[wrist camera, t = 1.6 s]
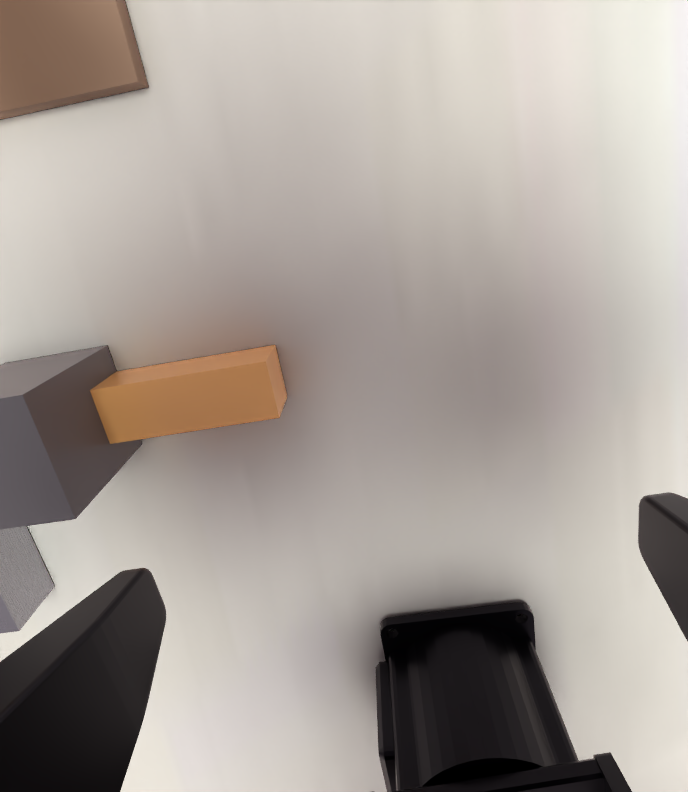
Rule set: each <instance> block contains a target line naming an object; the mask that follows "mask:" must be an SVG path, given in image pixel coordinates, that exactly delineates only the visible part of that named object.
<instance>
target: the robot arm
mask: <svg viewBox="0 0 688 792" xmlns="http://www.w3.org/2000/svg"><path fill="white" fill-rule="evenodd" d="M638 543H639V549H640V552H641V555H642V557H643V559H644V561H645V563H646V565H647V567H648V569H649V571H650V572H651V574H652V576H653V578H654V580H655V582H656V584H657V585H658V587H659V589H660V591H661V593H662V595H663V597H664V598H665V600H666V602H667V604H668V606H669V608H670V610H671V612H672V613H673V615H674V617H675V619H676V621H677V623H678V625H679V626H680V628H681V630H682V632H683V634H684V636H685V638H686V639H687V641H688V499H687V498H685V497H682V496H680V495H677V494H674V493H661V494H654V495H647V496H644V497H643V498H642V499H641V500H640V503H639V532H638ZM519 614H523V615H521V616H517V615H519ZM165 622H166V609H165V605H164V602H163V600H162V597H161V595H160V592H159V590H158V588H157V585H156V583H155V580H154V578H153V575H152V573H151V572H150V571H149V570H148V569H146V568H139V569H132V570H125V571H122V572H120V573H118V574H117V575H116V576H114V577H113V578H112V579H110V580H109V581H108V582H106V583H105V584H104V585H102V586H101V587H100V588H98V589H97V590H96V591H94V592H93V593H92V594H90V595H89V596H88V597H86V598H85V599H84V600H82V601H81V602H80V603H78V604H77V605H76V606H74V607H73V608H72V609H70V610H69V611H68V612H66V613H65V614H64V615H62V616H61V617H60V618H58V619H57V620H56V621H54V622H53V623H52V624H50V625H49V626H48V627H46V628H45V629H44V630H42V631H41V632H40V633H38V634H37V635H36V636H34V637H33V638H32V639H30V640H29V641H28V642H26V643H25V644H24V645H22V646H21V647H20V648H18V649H17V650H16V651H14V652H13V653H12V654H10V655H9V656H8V657H6V658H5V659H4V660H2V661H1V662H0V792H120V790H121V787H122V784H123V781H124V778H125V775H126V772H127V769H128V766H129V763H130V760H131V756H132V753H133V750H134V747H135V744H136V741H137V738H138V735H139V732H140V728H141V725H142V722H143V719H144V715H145V711H146V707H147V703H148V699H149V695H150V690H151V686H152V681H153V677H154V672H155V668H156V663H157V659H158V654H159V650H160V645H161V641H162V636H163V632H164V627H165ZM389 629H395V630H393V631H389ZM380 630H381V639H382V644H383V649H384V654H385V659H386V661H384V662H379V664H378V665H377V666H376V691H377V719H378V747H379V757H380V761H381V766H382V770H383V775H384V779H385V784H386V788H387V792H632V791H631V789H630V787H629V786H628V784H627V782H626V780H625V778H624V776H623V775H622V773H621V771H620V769H619V767H618V765H617V764H616V762H615V760H614V758H613V756H612V755H611V753H610V752H609V753H603V754H597V755H594V758H593V759H587V760H581V761H579V760H578V758H577V755H576V753H575V750H574V748H573V745H572V743H571V740H570V737H569V735H568V732H567V730H566V727H565V725H564V722H563V720H562V717H561V714H560V712H559V709H558V707H557V704H556V702H555V699H554V697H553V694H552V691H551V689H550V686H549V684H548V681H547V679H546V676H545V674H544V671H543V668H542V666H541V663H540V661H539V658H538V656H537V653H536V649H535V633H534V617H533V614H532V612H531V609H530V607H529V606H528V605H527V604H525V603H522V602H517V603H509V604H500V605H492V606H483V607H475V608H466V609H458V610H449V611H441V612H432V613H424V614H415V615H407V616H398V617H390V618H386V619H385V620H383V621H382V623H381V625H380ZM373 792H374V791H373Z"/></svg>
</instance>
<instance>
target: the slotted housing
mask: <svg viewBox="0 0 688 792" xmlns="http://www.w3.org/2000/svg"><path fill="white" fill-rule="evenodd" d="M53 587H54V584H53V582H52V580H51V577H50V575H49V573H48V571H47V569H46V567H45V565H44V563H43V560H42V558H41V556H40V554H39V552H38V550H37V548H36V545H35V543H34V541H33V539H32V537H31V535H30V533H29V531H28V528H27V526H22V527H15V528H8V529H1V530H0V633H6V632H14V631H20V629H21V628H22V627H23V626H24V624H25V623H26V622H27V620H28V619H29V618H30V617H31V615H32V614H33V613H34V612H35V610H36V609H37V608H38V606H39V605H40V604H41V603H42V601H43V600H44V599H45V598H46V596H47V595H48V594H49V593H50V591H51V590H52V589H53Z"/></svg>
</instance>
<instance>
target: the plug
mask: <svg viewBox="0 0 688 792" xmlns="http://www.w3.org/2000/svg"><path fill="white" fill-rule="evenodd" d="M286 399H287V393H286V388H285V384H284V380H283V375H282V371H281V367H280V363H279V358H278V354H277V350H276V345H271V346H265V347H259V348H253V349H247V350H241V351H235V352H229V353H223V354H217V355H211V356H205V357H199V358H193V359H188V360H182V361H176V362H170V363H164V364H158V365H152V366H146V367H140V368H134V369H128V370H122V371H116V368H115V366H114V363H113V360H112V357H111V354H110V351H109V348H108V346H101V347H95V348H89V349H84V350H78V351H72V352H66V353H60V354H55V355H49V356H43V357H37V358H31V359H26V360H20V361H14V362H8V363H4V364H2V365H0V530H1V529H8V528H15V527H22V526H29V525H36V524H43V523H51V522H58V521H65V520H72V519H76V518H77V517H78V516H79V514H80V513H81V512H82V511H83V510H84V509H85V508H86V507H87V505H88V504H89V503H90V502H91V501H92V500H93V499H94V498H95V496H96V495H97V494H98V493H99V492H100V491H101V490H102V489H103V487H104V486H105V485H106V484H107V483H108V482H109V481H110V480H111V478H112V477H113V476H114V475H115V474H116V473H117V472H118V471H119V469H120V468H121V467H122V466H123V465H124V464H125V463H126V462H127V460H128V459H129V458H130V457H131V456H132V455H133V454H134V453H135V451H136V450H137V449H138V448H139V447H140V446H141V445H142V442H141V439H146V438H152V437H159V436H165V435H172V434H178V433H185V432H191V431H198V430H204V429H211V428H217V427H224V426H230V425H237V424H243V423H250V422H256V421H263V420H269V419H275V418H280V415H281V412H282V410H283V407H284V404H285V401H286Z"/></svg>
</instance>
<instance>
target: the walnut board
mask: <svg viewBox="0 0 688 792" xmlns="http://www.w3.org/2000/svg"><path fill="white" fill-rule="evenodd" d="M147 87H148V83H147V79H146V76H145V72H144V68H143V65H142V61H141V57H140V54H139V50H138V46H137V43H136V39H135V35H134V32H133V28H132V24H131V21H130V17H129V13H128V10H127V6H126V2H125V0H0V120H1V119H5V118H10V117H14V116H19V115H23V114H28V113H33V112H37V111H42V110H46V109H51V108H56V107H60V106H65V105H69V104H74V103H78V102H83V101H88V100H92V99H97V98H101V97H106V96H111V95H115V94H120V93H124V92H129V91H133V90H138V89H143V88H147Z"/></svg>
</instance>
